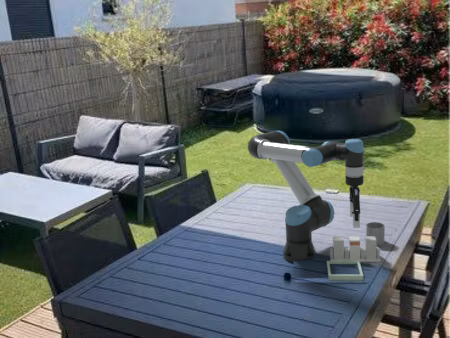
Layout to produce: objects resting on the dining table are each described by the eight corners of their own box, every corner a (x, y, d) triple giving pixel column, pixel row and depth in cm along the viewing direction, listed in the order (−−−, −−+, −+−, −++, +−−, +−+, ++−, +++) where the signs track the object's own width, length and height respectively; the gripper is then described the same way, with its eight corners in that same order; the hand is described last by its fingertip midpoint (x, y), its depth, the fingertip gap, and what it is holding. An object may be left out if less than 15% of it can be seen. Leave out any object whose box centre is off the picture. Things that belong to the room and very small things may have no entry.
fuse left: (333, 259, 222) (333, 240, 220) (333, 255, 226) (332, 236, 224) (343, 259, 221) (343, 240, 219) (343, 255, 225) (342, 236, 223)
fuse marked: (349, 259, 221) (349, 240, 218) (348, 254, 225) (348, 236, 223) (360, 259, 220) (360, 240, 218) (358, 254, 224) (358, 236, 222)
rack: (330, 264, 220) (330, 253, 219) (329, 255, 229) (329, 244, 227) (380, 264, 217) (380, 253, 215) (377, 255, 225) (377, 244, 224)
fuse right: (366, 259, 220) (366, 240, 217) (364, 254, 224) (364, 236, 222) (376, 259, 219) (376, 240, 217) (374, 254, 223) (374, 236, 221)
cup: (364, 247, 236) (364, 227, 233) (368, 240, 243) (368, 221, 240) (382, 249, 232) (382, 229, 229) (385, 242, 239) (386, 223, 236)
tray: (328, 280, 206) (328, 275, 205) (326, 266, 219) (326, 260, 218) (363, 281, 203) (363, 275, 203) (359, 266, 217) (359, 260, 216)
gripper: (367, 183, 200) (367, 232, 205) (359, 167, 224) (360, 211, 229) (348, 183, 201) (348, 232, 207) (343, 168, 225) (343, 212, 231)
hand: (354, 221), depth 218 cm, fingers open, 13 cm apart
